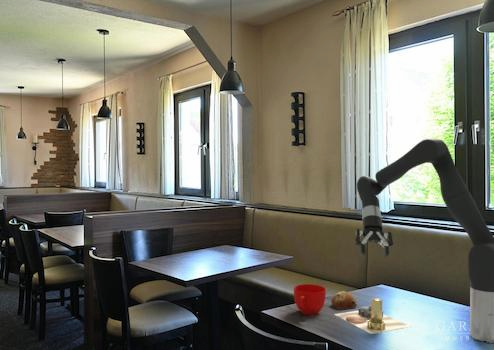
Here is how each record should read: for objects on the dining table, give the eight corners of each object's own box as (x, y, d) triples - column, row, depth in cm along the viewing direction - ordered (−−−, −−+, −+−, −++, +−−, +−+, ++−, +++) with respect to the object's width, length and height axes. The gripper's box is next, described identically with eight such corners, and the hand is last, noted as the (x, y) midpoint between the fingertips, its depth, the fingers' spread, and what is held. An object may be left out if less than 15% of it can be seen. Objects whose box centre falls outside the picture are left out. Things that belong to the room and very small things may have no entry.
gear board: (410, 330, 158) (411, 317, 158) (371, 338, 151) (371, 324, 151) (370, 312, 179) (370, 300, 178) (334, 318, 171) (334, 305, 171)
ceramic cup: (284, 317, 171) (285, 292, 171) (300, 305, 186) (300, 282, 186) (316, 323, 165) (316, 297, 165) (329, 310, 180) (330, 286, 180)
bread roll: (342, 310, 193) (335, 292, 195) (362, 304, 187) (355, 286, 189) (331, 315, 185) (324, 297, 187) (352, 310, 179) (344, 291, 181)
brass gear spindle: (388, 328, 156) (389, 301, 156) (375, 331, 154) (375, 303, 153) (377, 323, 162) (377, 296, 162) (364, 325, 159) (364, 298, 159)
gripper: (356, 213, 176) (359, 249, 166) (392, 216, 175) (396, 253, 166) (352, 222, 182) (354, 258, 172) (386, 225, 181) (390, 261, 172)
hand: (375, 255), depth 169 cm, fingers open, 8 cm apart
